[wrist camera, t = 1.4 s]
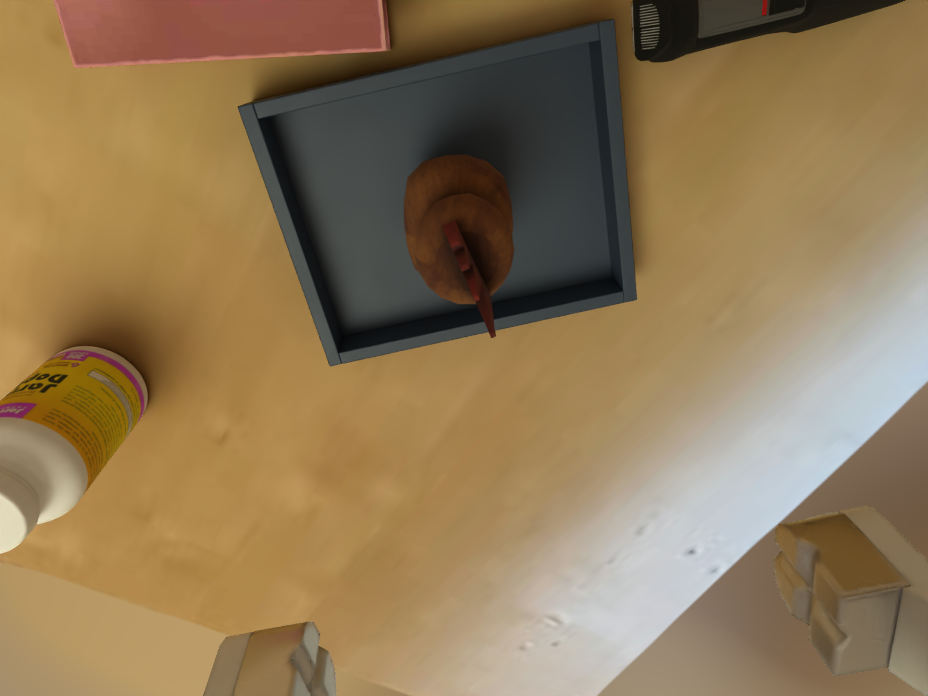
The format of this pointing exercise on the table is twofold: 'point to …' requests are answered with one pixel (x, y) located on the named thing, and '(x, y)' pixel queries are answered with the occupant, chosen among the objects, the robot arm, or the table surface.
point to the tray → (452, 133)
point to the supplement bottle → (62, 434)
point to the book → (218, 29)
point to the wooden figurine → (460, 229)
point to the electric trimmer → (729, 22)
